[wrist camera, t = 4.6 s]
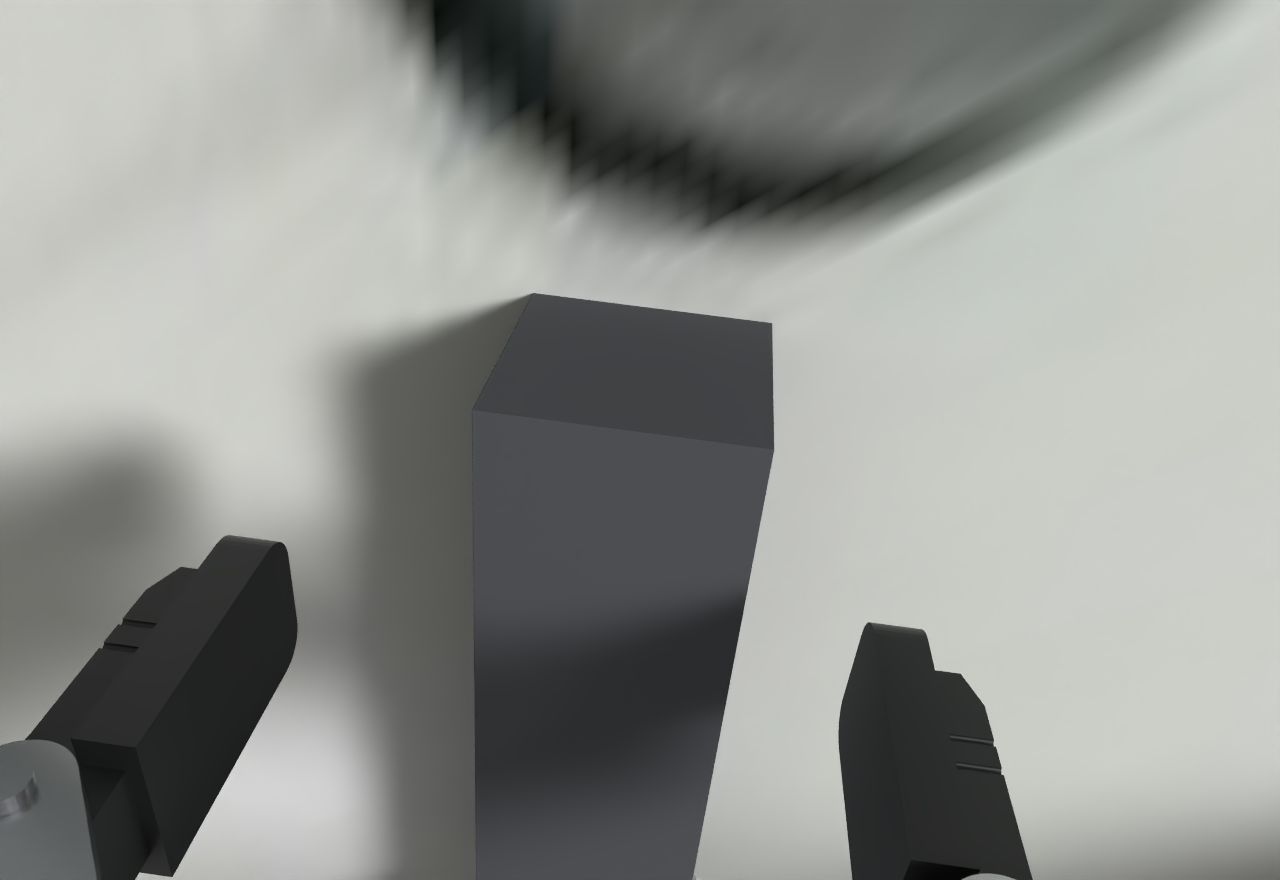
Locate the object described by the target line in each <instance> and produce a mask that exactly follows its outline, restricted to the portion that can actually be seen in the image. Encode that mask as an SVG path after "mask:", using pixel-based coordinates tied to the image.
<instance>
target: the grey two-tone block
mask: <svg viewBox="0 0 1280 880" xmlns="http://www.w3.org/2000/svg"><path fill="white" fill-rule="evenodd" d="M472 444H473V562H474V679H475V797H476V880H696V876H693V874H694V868H695V863H696V858H697V852H698V847H699V842H700V837H701V831H702V826H703V821H704V816H705V810H706V805H707V800H708V795H709V789H710V784H711V779H712V774H713V768H714V763H715V758H716V753H717V747H718V742H719V737H720V731H721V726H722V721H723V716H724V710H725V705H726V700H727V695H728V689H729V684H730V679H731V674H732V668H733V663H734V658H735V653H736V647H737V642H738V637H739V631H740V626H741V621H742V616H743V610H744V605H745V600H746V595H747V589H748V584H749V579H750V574H751V568H752V563H753V558H754V553H755V547H756V542H757V537H758V532H759V526H760V521H761V516H762V510H763V505H764V500H765V495H766V489H767V484H768V479H769V474H770V468H771V463H772V458H773V453H774V416H773V354H772V323H766V322H758V321H750V320H742V319H734V318H726V317H718V316H710V315H702V314H694V313H686V312H678V311H671V310H663V309H655V308H647V307H639V306H631V305H623V304H615V303H607V302H599V301H591V300H583V299H575V298H567V297H559V296H551V295H544V294H536V293H533V295H532V297H531V299H530V301H529V303H528V305H527V306H526V308H525V310H524V312H523V314H522V316H521V318H520V320H519V322H518V324H517V326H516V327H515V329H514V331H513V333H512V335H511V337H510V339H509V341H508V343H507V345H506V347H505V348H504V350H503V352H502V354H501V356H500V358H499V360H498V362H497V364H496V366H495V368H494V369H493V371H492V373H491V375H490V377H489V379H488V381H487V383H486V385H485V387H484V389H483V390H482V392H481V394H480V396H479V398H478V400H477V402H476V404H475V406H474V408H473V410H472Z"/></svg>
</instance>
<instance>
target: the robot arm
mask: <svg viewBox="0 0 1280 880" xmlns="http://www.w3.org/2000/svg"><path fill="white" fill-rule="evenodd" d="M296 640H297V617H296V610H295V602H294V595H293V587H292V580H291V573H290V565H289V558H288V552H287V549H286V547H285V545H284V544H283V543H281V542H276V541H269V540H261V539H254V538H246V537H239V536H231V535H228V536H225V537H223V538H222V539H221V540H220V541H219V542H218V543H217V544H216V546H215V547H214V548H213V550H212V551H211V552H210V554H209V555H208V556H207V558H206V559H205V560H204V562H203V563H202V564H201V566H200V567H199V568H198V569H192V568H185V567H180V568H179V569H177V570H175V571H174V572H172V573H171V574H169V575H168V576H166V577H165V578H163V579H162V580H160V581H159V582H157V583H156V584H154V585H153V586H151V587H150V588H148V589H147V590H145V592H144V593H143V594H142V595H141V597H140V598H139V599H138V600H137V602H136V603H135V604H134V605H133V607H132V608H131V609H130V610H129V612H128V613H127V614H126V615H125V617H124V618H123V622H122V624H121V625H119V624H118V625H117V627H116V628H115V629H114V630H113V632H112V633H111V634H110V635H109V637H108V638H107V639H106V640H105V642H104V646H103V648H102V649H101V648H99V649H98V650H97V651H96V653H95V654H94V655H93V656H92V658H91V659H90V660H89V661H88V663H87V664H86V665H85V666H84V668H83V669H82V670H81V671H80V673H79V674H78V675H77V676H76V678H75V679H74V680H73V681H72V683H71V684H70V685H69V686H68V688H67V689H66V690H65V691H64V693H63V694H62V695H61V696H60V698H59V699H58V700H57V701H56V703H55V704H54V705H53V706H52V708H51V709H50V710H49V711H48V713H47V714H46V715H45V716H44V718H43V719H42V720H41V721H40V722H39V724H38V725H37V726H36V727H35V729H34V730H33V731H32V732H31V734H30V735H29V736H28V737H27V738H26V739H25V740H23V741H16V742H12V743H8V744H4V745H1V746H0V880H135V879H136V877H137V875H138V874H139V872H141V873H148V874H155V875H162V876H169V877H173V875H174V873H175V871H176V870H177V868H178V866H179V864H180V862H181V861H182V859H183V857H184V855H185V853H186V852H187V850H188V848H189V846H190V844H191V843H192V841H193V839H194V837H195V835H196V834H197V832H198V830H199V828H200V826H201V824H202V823H203V821H204V819H205V817H206V815H207V814H208V812H209V810H210V808H211V806H212V805H213V803H214V801H215V799H216V797H217V796H218V794H219V792H220V790H221V788H222V787H223V785H224V783H225V781H226V779H227V778H228V776H229V774H230V772H231V770H232V769H233V767H234V765H235V763H236V761H237V760H238V758H239V756H240V754H241V752H242V751H243V749H244V747H245V745H246V743H247V742H248V740H249V738H250V736H251V734H252V733H253V731H254V729H255V727H256V725H257V723H258V722H259V720H260V718H261V716H262V714H263V713H264V711H265V709H266V707H267V705H268V704H269V702H270V700H271V698H272V696H273V695H274V693H275V691H276V689H277V687H278V686H279V684H280V682H281V680H282V678H283V677H284V675H285V673H286V671H287V669H288V667H289V665H290V663H291V660H292V657H293V654H294V650H295V645H296ZM993 742H994V738H993V735H992V731H991V728H990V724H989V720H988V717H987V713H986V709H985V706H984V704H983V703H982V702H981V700H980V699H979V698H978V696H977V695H976V694H975V692H974V691H973V690H972V688H971V687H970V686H969V684H968V683H967V682H966V680H965V679H964V678H963V676H962V675H961V674H958V673H950V672H943V671H936V670H935V669H934V664H933V660H932V655H931V651H930V647H929V642H928V638H927V635H926V633H925V632H924V630H922V629H915V628H907V627H900V626H892V625H885V624H877V623H870V622H869V623H867V624H866V626H865V627H864V630H863V632H862V635H861V639H860V642H859V646H858V649H857V652H856V656H855V659H854V663H853V666H852V669H851V673H850V676H849V680H848V683H847V686H846V690H845V693H844V697H843V700H842V705H841V711H840V719H839V753H840V763H841V772H842V782H843V792H844V801H845V811H846V821H847V831H848V840H849V850H850V860H851V870H852V879H853V880H1033V879H1032V876H1031V872H1030V869H1029V865H1028V862H1027V858H1026V854H1025V851H1024V847H1023V843H1022V840H1021V836H1020V833H1019V829H1018V825H1017V822H1016V818H1015V814H1014V811H1013V807H1012V804H1011V800H1010V796H1009V793H1008V789H1007V785H1006V782H1005V778H1004V775H1001V768H1002V767H1001V764H1000V760H999V757H998V753H997V749H996V747H994V746H993Z"/></svg>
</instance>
